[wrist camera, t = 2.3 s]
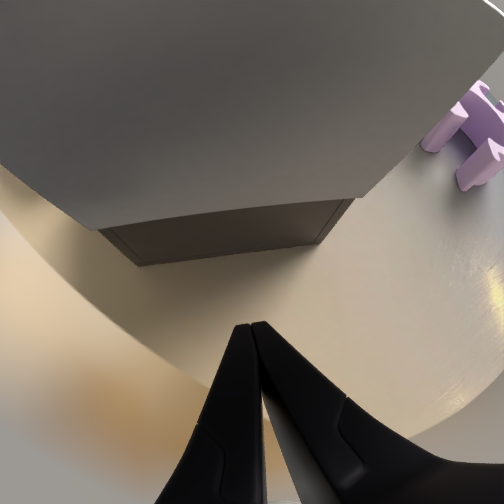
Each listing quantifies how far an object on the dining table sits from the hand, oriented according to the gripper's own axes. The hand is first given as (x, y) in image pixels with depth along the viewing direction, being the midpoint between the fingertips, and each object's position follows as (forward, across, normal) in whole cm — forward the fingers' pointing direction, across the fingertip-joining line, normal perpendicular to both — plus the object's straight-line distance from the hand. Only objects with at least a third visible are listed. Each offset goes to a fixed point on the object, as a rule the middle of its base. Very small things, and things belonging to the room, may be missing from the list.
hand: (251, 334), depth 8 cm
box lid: (+3, 0, -6) cm, 6 cm away
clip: (+23, -34, -4) cm, 41 cm away
